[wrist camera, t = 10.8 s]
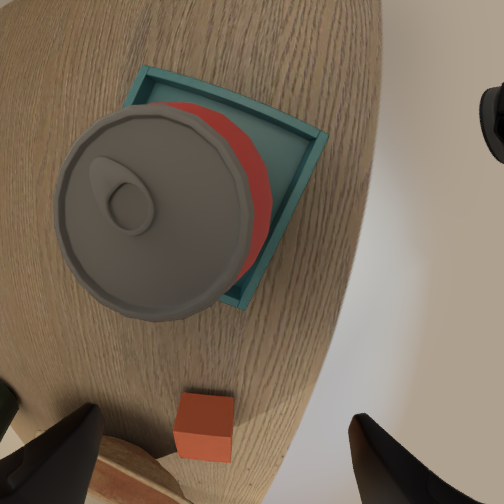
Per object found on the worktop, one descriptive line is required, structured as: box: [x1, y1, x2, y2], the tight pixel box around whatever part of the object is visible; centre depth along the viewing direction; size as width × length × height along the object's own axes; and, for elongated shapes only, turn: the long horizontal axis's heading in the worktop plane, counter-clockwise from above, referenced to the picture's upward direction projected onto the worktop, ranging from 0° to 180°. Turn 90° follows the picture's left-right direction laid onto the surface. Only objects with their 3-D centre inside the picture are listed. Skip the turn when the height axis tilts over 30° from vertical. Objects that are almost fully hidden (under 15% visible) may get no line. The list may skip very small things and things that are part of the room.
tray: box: [123, 65, 329, 311], centre depth 17 cm, size 12×12×2 cm
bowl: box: [34, 430, 193, 504], centre depth 25 cm, size 24×24×8 cm
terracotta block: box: [173, 392, 234, 463], centre depth 23 cm, size 5×5×5 cm
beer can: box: [53, 102, 273, 322], centre depth 12 cm, size 7×7×12 cm
